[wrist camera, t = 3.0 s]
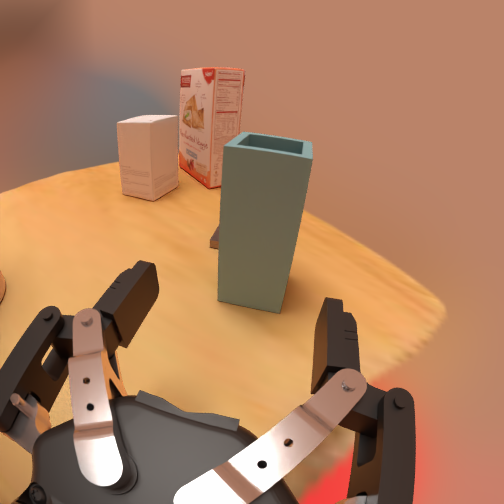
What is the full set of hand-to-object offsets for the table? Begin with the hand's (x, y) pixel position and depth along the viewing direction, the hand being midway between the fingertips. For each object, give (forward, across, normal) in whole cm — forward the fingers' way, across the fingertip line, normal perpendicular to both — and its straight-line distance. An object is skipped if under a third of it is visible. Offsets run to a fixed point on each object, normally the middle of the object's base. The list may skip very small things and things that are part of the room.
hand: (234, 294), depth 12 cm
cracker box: (+39, +15, +9) cm, 43 cm away
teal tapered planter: (+11, 0, +10) cm, 15 cm away
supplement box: (+29, +22, +9) cm, 38 cm away
